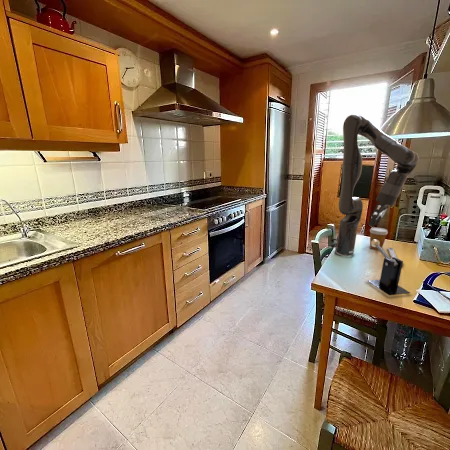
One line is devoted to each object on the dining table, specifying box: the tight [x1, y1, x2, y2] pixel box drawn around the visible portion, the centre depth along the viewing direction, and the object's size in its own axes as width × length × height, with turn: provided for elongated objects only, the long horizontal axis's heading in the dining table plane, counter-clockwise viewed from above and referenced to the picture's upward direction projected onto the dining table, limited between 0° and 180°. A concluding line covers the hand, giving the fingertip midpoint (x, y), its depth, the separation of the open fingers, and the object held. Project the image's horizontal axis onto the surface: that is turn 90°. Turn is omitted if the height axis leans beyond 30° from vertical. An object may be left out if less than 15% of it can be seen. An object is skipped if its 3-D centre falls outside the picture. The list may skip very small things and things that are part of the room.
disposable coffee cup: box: [369, 227, 389, 251], centre depth 149 cm, size 10×10×12 cm
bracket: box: [368, 257, 411, 296], centre depth 103 cm, size 12×10×14 cm
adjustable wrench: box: [387, 247, 399, 259], centre depth 136 cm, size 25×6×2 cm, turn 148°
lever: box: [371, 239, 398, 268], centre depth 106 cm, size 15×4×4 cm, turn 10°
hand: (372, 225), depth 119 cm, fingers open, 8 cm apart
